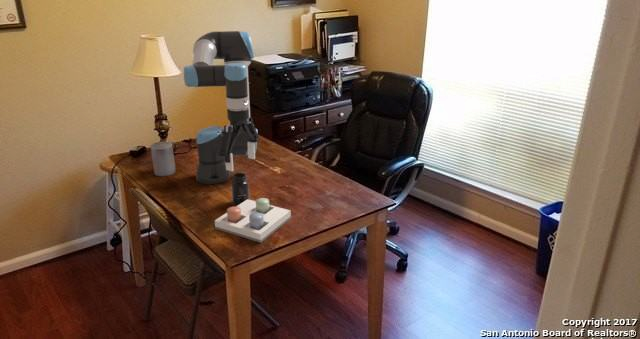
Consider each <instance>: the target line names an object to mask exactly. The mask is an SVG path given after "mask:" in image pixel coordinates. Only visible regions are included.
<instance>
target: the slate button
mask: <svg viewBox="0 0 640 339" xmlns="http://www.w3.org/2000/svg"><path fill="white" fill-rule="evenodd" d="M249 220H250V228H252V229H261V228H263V227H264V215H263V214H262V213H252V214H251V215H250V216H249Z"/></svg>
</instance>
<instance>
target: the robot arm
mask: <svg viewBox="0 0 640 339" xmlns="http://www.w3.org/2000/svg"><path fill="white" fill-rule="evenodd" d="M192 53H193V60H192V63H191V64H190V65H185V66H184V67H183V81H184V85H185V86H186V87H188V88H191V87H192V88H208V87H209V88H211V87H225V95H226V96H225V101H226V108H227V109H226V110H227V111H226V114H227V120H228V121H229V122H230V123H229V124H228V125H224V126H223V127H222V126H218V125H212V126H207V127H204V128H201V129H200V130H198V131H197V133H196V142H195V143H196V146H197V157H198V158H197V159H198V166H197V169H196V173H195V176H196V178H195V179H196V181H197V182H198V183H199V184H204V185H218V184H221V183H226V182H228V180H230V178H231V172H234V171H235V170H234V158H233V157H235V156H237V157H239V156H247V158H248V159H251V160H256V152H257V147H258V140H259V135H258V129H257V128H256V127H255V124H254V120H253V117H251V105H250V84H249V66H250V64H251V63H252V60H253V59H254V58H255V55H254V49H253V42H252V38H251V35H250V33H249V32H248V31H243V30H242V31H241V30H238V31H237V30H231V31H229V30H228V31H210V32H207V33H206V34H203V35H202V36H200V37H199V38H198V39H196V41H195V43H194V44H193V48H192ZM214 60H223V63H224V64H218V65H217V64H215V65H214Z"/></svg>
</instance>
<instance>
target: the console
mask: <svg viewBox="0 0 640 339" xmlns="http://www.w3.org/2000/svg"><path fill="white" fill-rule="evenodd" d="M235 207H239V208H240V209H241V221H239V222H236V223H232V222H228V220H227V212H226V213H224V214H223V215H221V216H219V217H218V218H216V219H215V220H214V228H215V229H216V230H217V231H221V232H225V233H227V234H231V235H235V236H238V237H240V238H241V237H242V238H245V239H248V240H251V241H253V242H258V243H260V244H262V243H263V241H265V240H267V238H269V237H270V236H271V235H272V234H274V233H275V232H276V231H278V229H279V228H281V227H283V225H284V224H286V223H287V222H288V221H290V220H291V219H292V215H291V214H292V212H291V210H290V209H287V208H283V207H280V206H275V205H272V204H269V212H267V213H262V214H263V215H264V227H263V228H261V229H252V228H250V220H249V216H250V215H251V214H252V213H259V212H257V211H256V200H251V199H250V198H249V199H247V200H246V201H244V202H243V203H241V204H239V205H235Z"/></svg>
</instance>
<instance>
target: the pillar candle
mask: <svg viewBox="0 0 640 339" xmlns="http://www.w3.org/2000/svg"><path fill="white" fill-rule="evenodd" d="M149 147H150V154H151V160H152V166H153V167H152V168H153V172H154V175H155V176H156V177H157V176H158V177H166V176H171V175H173V174H175V173H176V171H177V168H176V162H175V155H174V154H175V153H174V149H173V148H174V147H173V143H172V142H170V141H157V142H154V143H152V144H151V145H150V146H149Z"/></svg>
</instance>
